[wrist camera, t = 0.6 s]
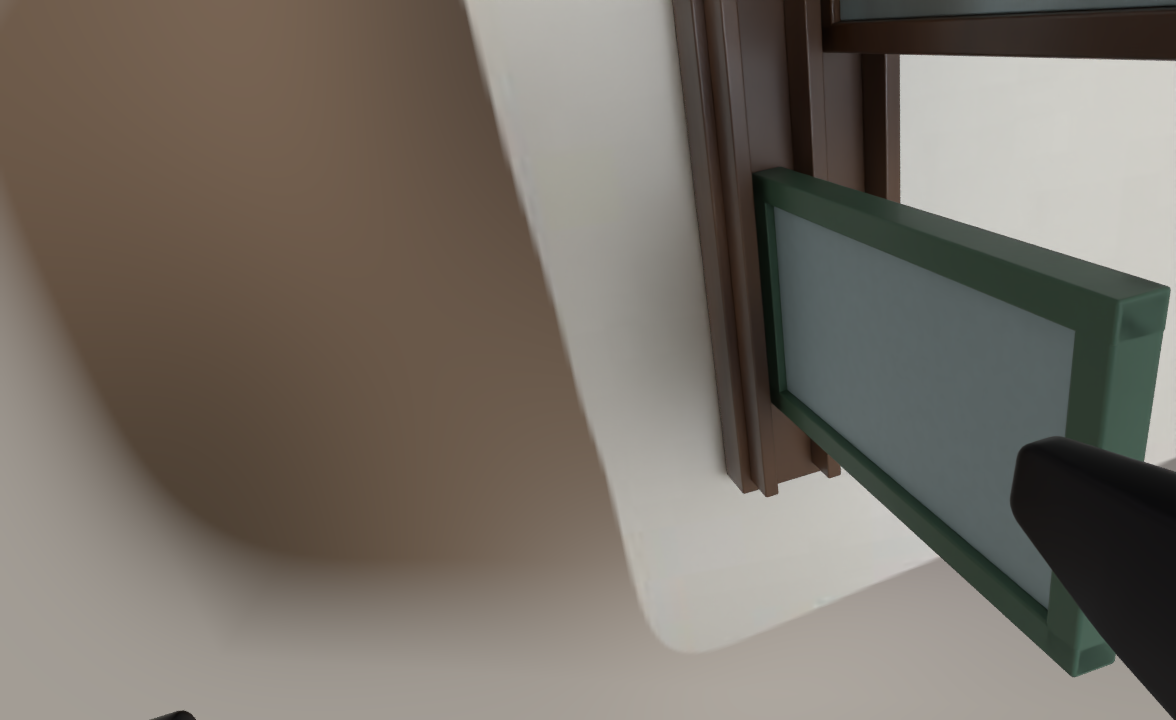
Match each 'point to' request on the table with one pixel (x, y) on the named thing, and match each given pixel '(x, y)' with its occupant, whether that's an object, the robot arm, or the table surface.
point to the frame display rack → (833, 143)
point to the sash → (952, 374)
